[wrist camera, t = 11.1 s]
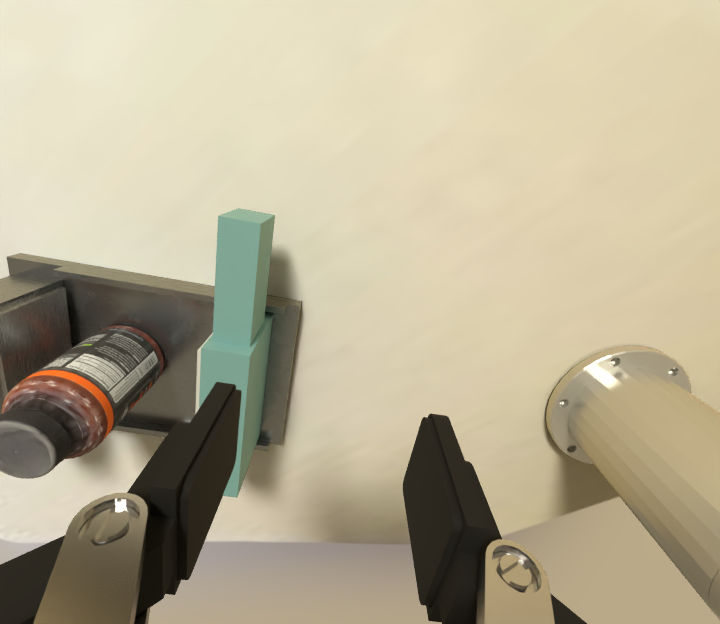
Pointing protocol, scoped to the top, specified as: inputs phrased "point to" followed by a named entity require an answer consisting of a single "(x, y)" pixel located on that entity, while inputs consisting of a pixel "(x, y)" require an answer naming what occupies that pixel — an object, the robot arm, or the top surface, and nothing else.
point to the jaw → (240, 326)
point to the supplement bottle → (76, 400)
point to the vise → (139, 310)
